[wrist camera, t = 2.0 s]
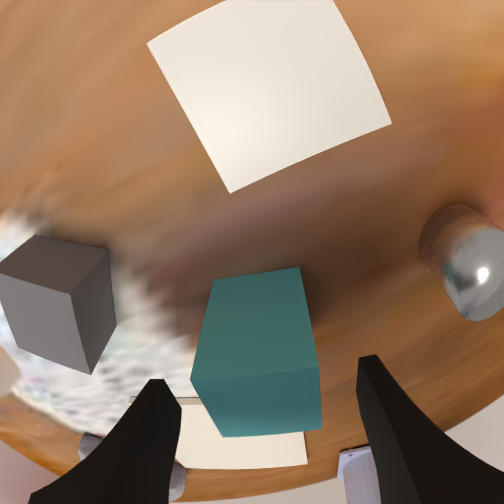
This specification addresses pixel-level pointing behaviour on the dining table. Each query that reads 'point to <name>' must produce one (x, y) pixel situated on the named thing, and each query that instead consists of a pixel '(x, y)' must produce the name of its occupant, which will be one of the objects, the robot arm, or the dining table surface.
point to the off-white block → (269, 83)
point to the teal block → (258, 356)
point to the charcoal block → (59, 300)
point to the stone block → (177, 476)
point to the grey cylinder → (465, 259)
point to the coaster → (231, 444)
